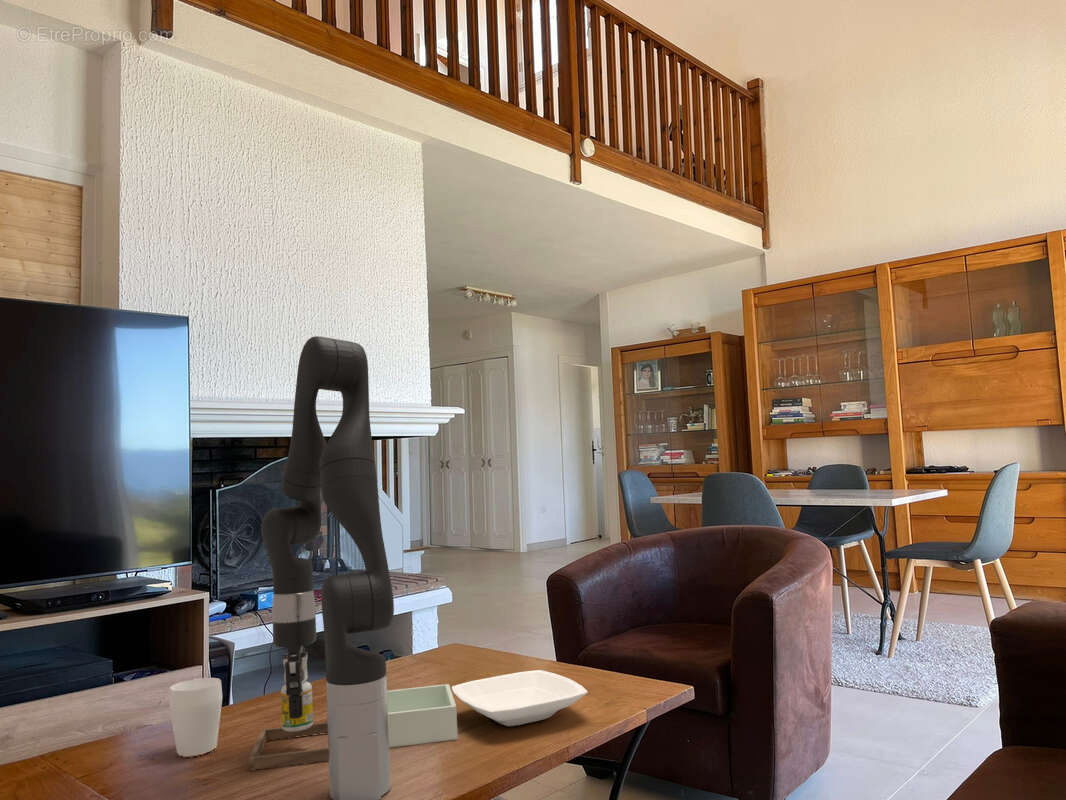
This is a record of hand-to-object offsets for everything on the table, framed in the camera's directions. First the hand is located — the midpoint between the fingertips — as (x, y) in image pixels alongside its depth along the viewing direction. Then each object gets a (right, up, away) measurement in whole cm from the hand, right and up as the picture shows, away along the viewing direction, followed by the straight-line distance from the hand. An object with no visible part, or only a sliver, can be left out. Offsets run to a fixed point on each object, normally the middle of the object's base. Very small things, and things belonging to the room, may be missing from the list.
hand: (297, 712), depth 141 cm
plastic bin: (+20, -6, +7) cm, 22 cm away
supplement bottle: (0, -3, 0) cm, 3 cm away
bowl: (+40, -6, +11) cm, 42 cm away
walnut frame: (+1, -7, 0) cm, 7 cm away
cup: (-19, -8, +2) cm, 21 cm away
